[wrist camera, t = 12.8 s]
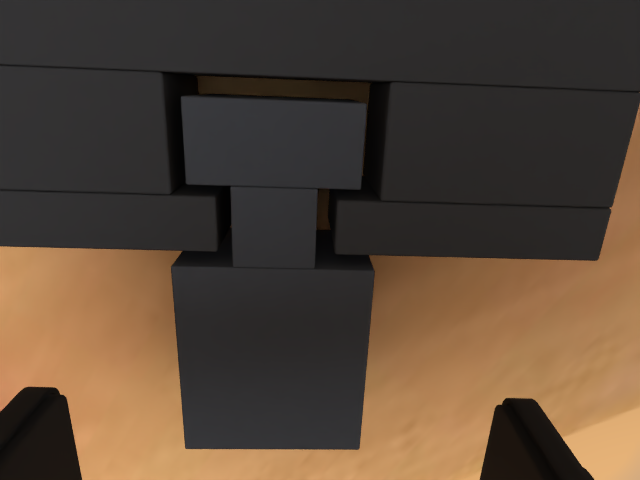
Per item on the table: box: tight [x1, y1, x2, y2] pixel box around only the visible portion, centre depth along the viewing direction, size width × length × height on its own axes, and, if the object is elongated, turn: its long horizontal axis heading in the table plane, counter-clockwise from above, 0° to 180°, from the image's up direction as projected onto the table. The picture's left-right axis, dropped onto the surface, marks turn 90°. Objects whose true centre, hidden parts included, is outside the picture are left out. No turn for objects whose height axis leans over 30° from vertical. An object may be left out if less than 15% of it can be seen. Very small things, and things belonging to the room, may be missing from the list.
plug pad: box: [171, 94, 375, 450], centre depth 16 cm, size 6×12×4 cm, turn 178°
